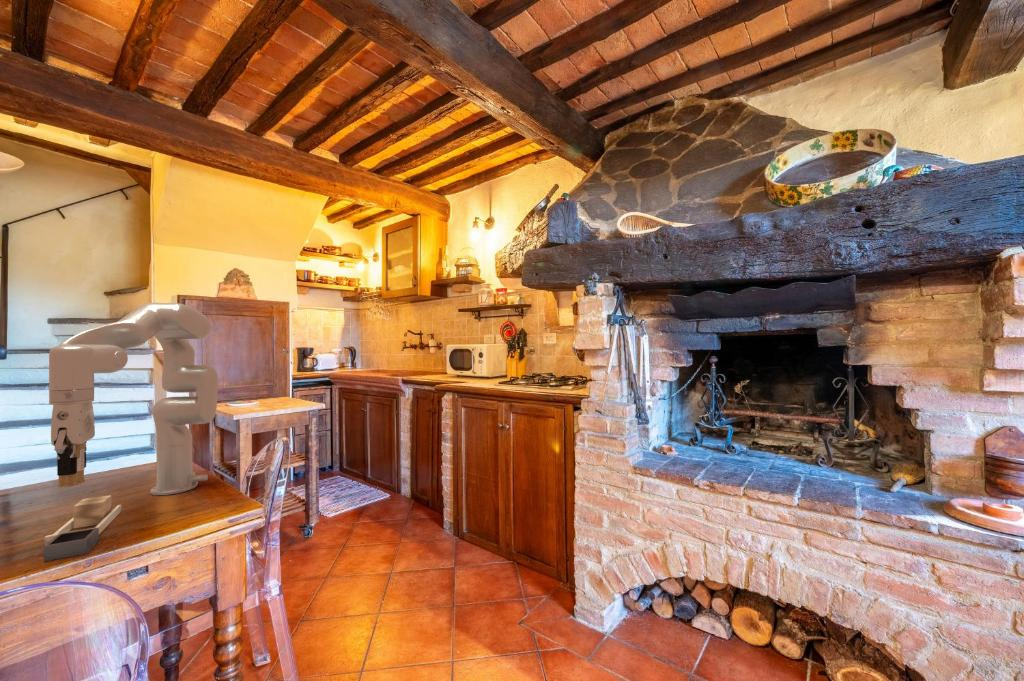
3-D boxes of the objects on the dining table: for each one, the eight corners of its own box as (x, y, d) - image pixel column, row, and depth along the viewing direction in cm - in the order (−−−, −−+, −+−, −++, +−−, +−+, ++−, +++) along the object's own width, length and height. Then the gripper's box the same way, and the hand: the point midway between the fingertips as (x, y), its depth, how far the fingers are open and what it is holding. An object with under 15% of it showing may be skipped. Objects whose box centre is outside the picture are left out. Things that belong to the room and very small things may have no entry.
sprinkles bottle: (53, 489, 97) (53, 432, 97) (62, 483, 101) (62, 428, 101) (80, 486, 100) (80, 430, 100) (88, 480, 104) (88, 426, 104)
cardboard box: (111, 515, 120) (111, 494, 120) (103, 523, 115) (103, 502, 115) (82, 520, 117) (82, 498, 117) (73, 528, 112) (73, 506, 112)
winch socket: (98, 541, 105) (98, 527, 105) (86, 553, 99) (86, 539, 99) (58, 548, 102) (58, 533, 102) (43, 561, 95) (43, 546, 95)
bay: (121, 511, 124) (121, 501, 124) (92, 541, 105) (92, 529, 105) (81, 517, 119) (81, 506, 119) (44, 549, 101) (44, 537, 101)
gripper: (78, 399, 95) (78, 479, 95) (106, 391, 110) (106, 460, 110) (31, 402, 91) (31, 485, 91) (67, 393, 106) (67, 464, 106)
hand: (72, 470), depth 100 cm, fingers closed on sprinkles bottle, 4 cm apart
